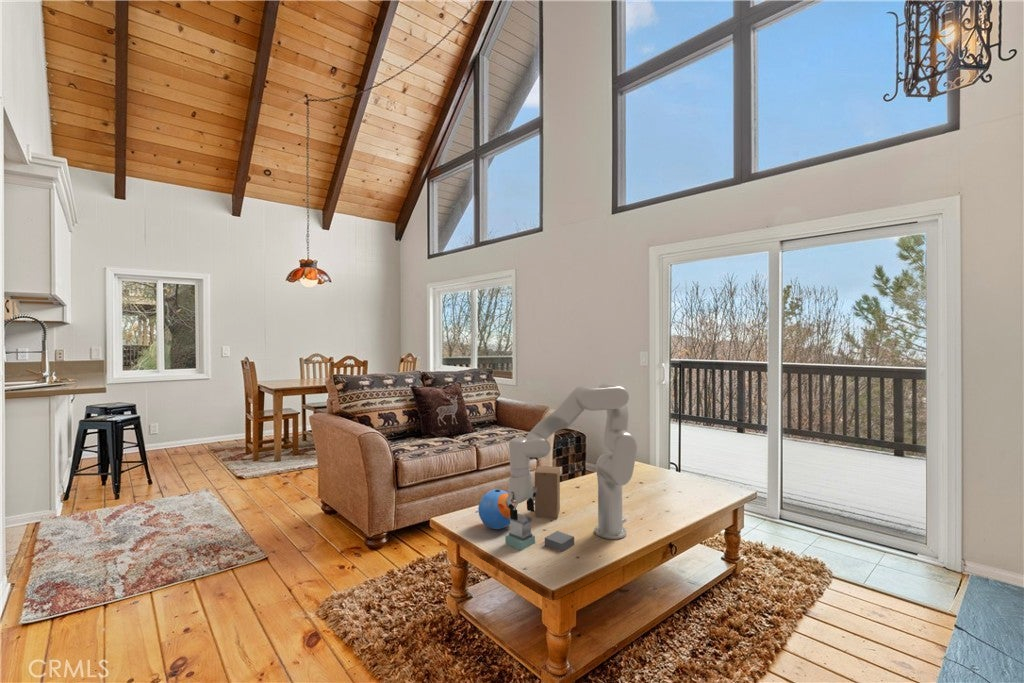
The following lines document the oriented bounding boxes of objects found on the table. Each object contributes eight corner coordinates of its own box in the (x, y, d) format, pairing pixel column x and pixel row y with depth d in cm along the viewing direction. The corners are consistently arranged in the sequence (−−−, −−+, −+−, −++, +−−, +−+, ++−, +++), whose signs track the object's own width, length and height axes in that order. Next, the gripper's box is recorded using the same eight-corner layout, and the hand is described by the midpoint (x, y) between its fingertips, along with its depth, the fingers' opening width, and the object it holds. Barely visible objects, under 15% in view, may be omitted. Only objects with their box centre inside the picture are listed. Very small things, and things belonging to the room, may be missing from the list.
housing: (517, 530, 184) (517, 513, 184) (532, 536, 179) (532, 518, 179) (508, 535, 180) (508, 517, 180) (523, 540, 175) (523, 522, 175)
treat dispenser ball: (495, 516, 206) (495, 482, 205) (523, 526, 196) (523, 489, 196) (470, 528, 194) (470, 491, 193) (499, 539, 184) (498, 500, 184)
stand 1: (519, 537, 185) (519, 529, 185) (534, 543, 180) (534, 535, 180) (505, 544, 179) (505, 536, 179) (521, 550, 174) (521, 542, 174)
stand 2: (557, 538, 184) (557, 530, 184) (574, 544, 179) (574, 536, 179) (544, 545, 178) (544, 537, 178) (561, 551, 173) (561, 543, 173)
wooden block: (557, 519, 203) (557, 473, 202) (534, 517, 205) (534, 472, 204) (559, 510, 213) (559, 466, 212) (538, 509, 215) (537, 465, 214)
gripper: (527, 463, 188) (529, 505, 189) (497, 475, 175) (499, 520, 176) (542, 466, 183) (544, 510, 184) (512, 479, 170) (514, 525, 171)
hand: (522, 515), depth 180 cm, fingers open, 9 cm apart
